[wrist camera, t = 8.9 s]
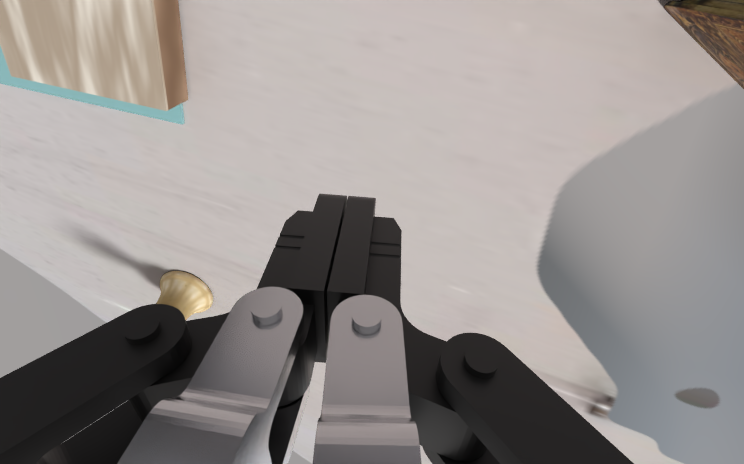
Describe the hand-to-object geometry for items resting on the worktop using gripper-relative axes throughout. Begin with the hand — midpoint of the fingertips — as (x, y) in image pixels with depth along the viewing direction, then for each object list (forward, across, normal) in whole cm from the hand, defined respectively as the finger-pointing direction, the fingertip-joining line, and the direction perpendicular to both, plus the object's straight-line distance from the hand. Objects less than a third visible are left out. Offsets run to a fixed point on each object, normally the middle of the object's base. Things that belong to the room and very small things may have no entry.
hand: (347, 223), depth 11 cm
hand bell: (+32, +28, +38) cm, 57 cm away
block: (+30, +20, +4) cm, 36 cm away
